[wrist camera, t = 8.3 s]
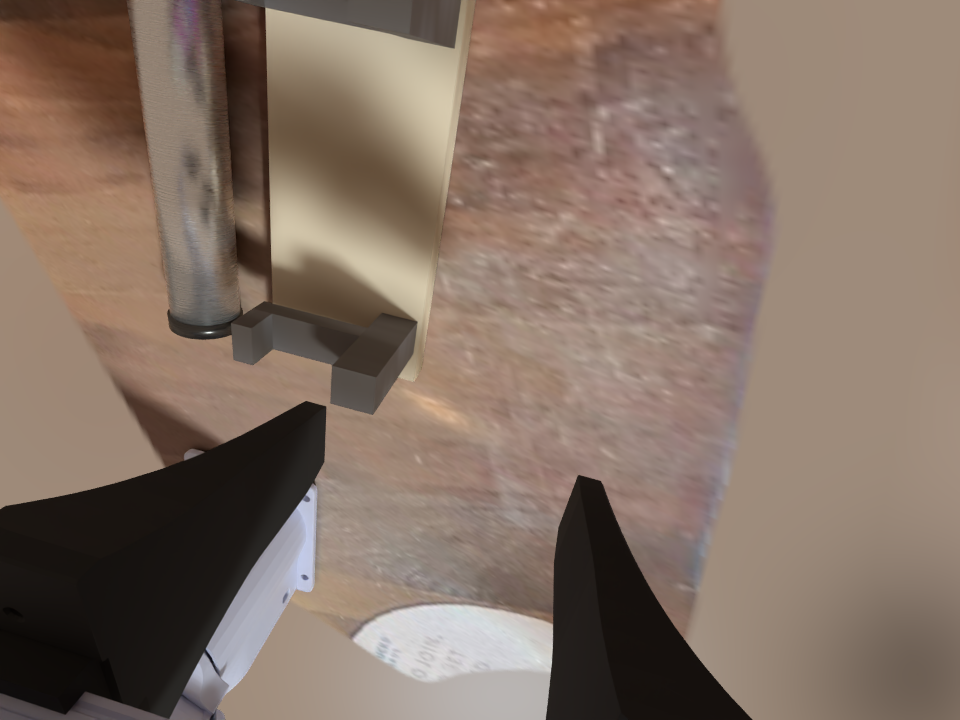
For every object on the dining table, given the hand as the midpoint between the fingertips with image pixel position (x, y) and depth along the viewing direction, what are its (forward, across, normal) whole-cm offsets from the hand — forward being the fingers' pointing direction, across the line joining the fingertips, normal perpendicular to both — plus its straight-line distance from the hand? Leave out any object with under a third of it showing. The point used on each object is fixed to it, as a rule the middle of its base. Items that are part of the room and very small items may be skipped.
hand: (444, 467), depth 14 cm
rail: (+8, +13, -5) cm, 16 cm away
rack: (+9, +6, -5) cm, 12 cm away
